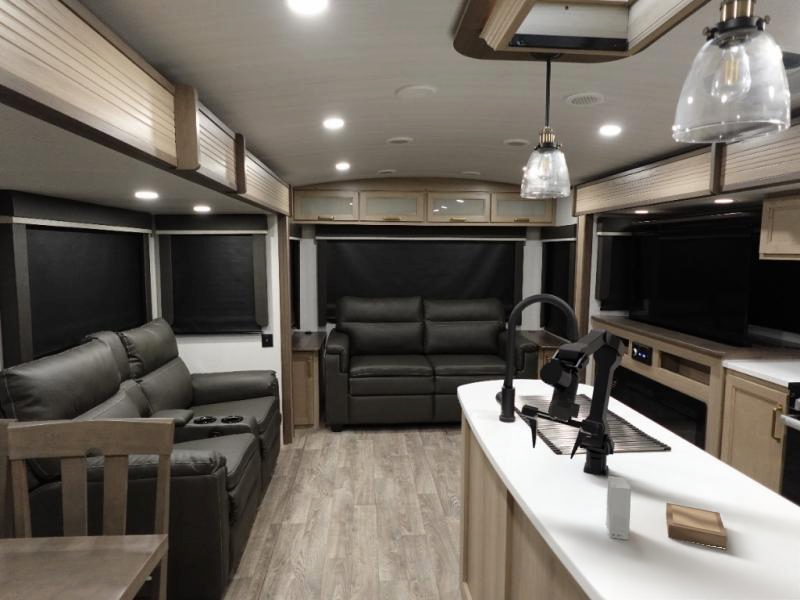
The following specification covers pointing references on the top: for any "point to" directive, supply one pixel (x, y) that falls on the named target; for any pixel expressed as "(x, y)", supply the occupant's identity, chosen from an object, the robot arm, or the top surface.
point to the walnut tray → (695, 525)
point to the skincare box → (618, 507)
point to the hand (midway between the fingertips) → (552, 453)
